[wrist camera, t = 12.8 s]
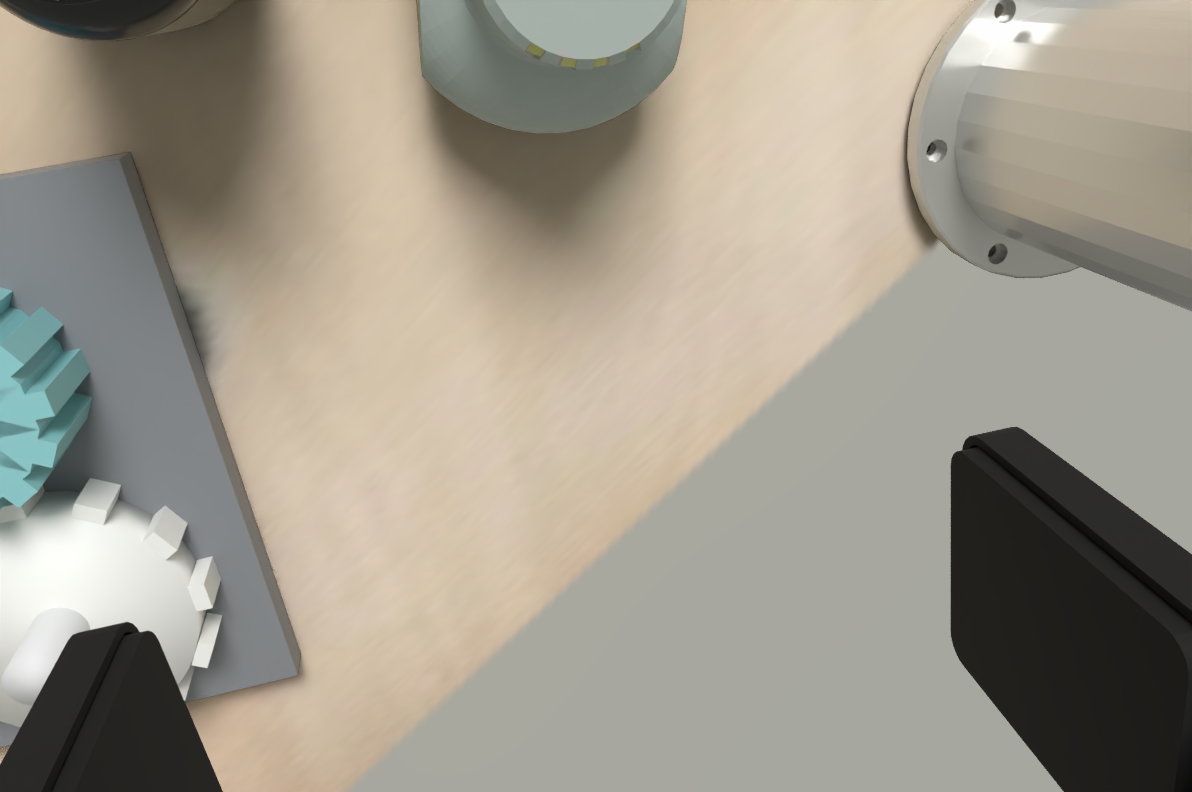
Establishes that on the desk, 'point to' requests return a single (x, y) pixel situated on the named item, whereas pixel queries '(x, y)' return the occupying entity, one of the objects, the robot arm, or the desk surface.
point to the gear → (35, 399)
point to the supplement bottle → (114, 16)
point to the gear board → (127, 459)
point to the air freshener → (548, 57)
